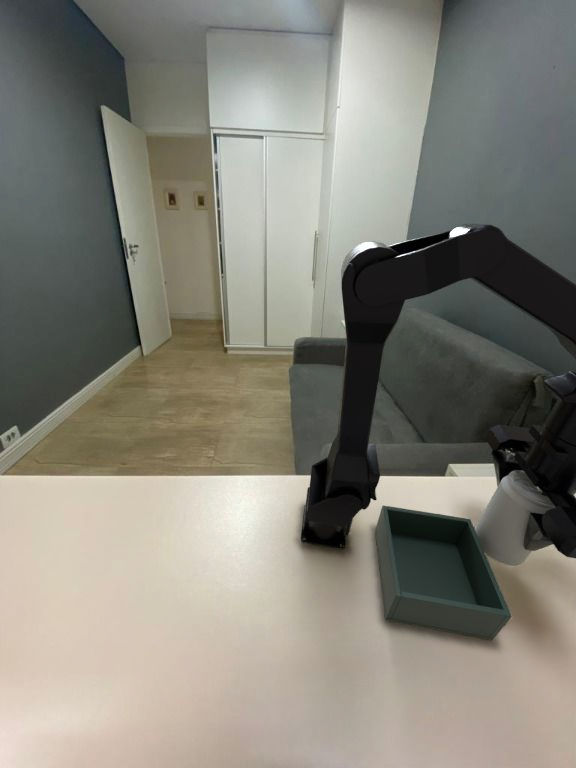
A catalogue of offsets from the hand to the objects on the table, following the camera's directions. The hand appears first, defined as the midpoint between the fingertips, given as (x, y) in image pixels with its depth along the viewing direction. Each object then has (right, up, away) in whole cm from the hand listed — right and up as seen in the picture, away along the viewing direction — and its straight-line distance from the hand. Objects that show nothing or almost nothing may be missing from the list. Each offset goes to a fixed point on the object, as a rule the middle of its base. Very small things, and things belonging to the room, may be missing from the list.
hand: (515, 525), depth 41 cm
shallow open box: (-12, -7, 0) cm, 14 cm away
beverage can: (-1, -4, +2) cm, 5 cm away
